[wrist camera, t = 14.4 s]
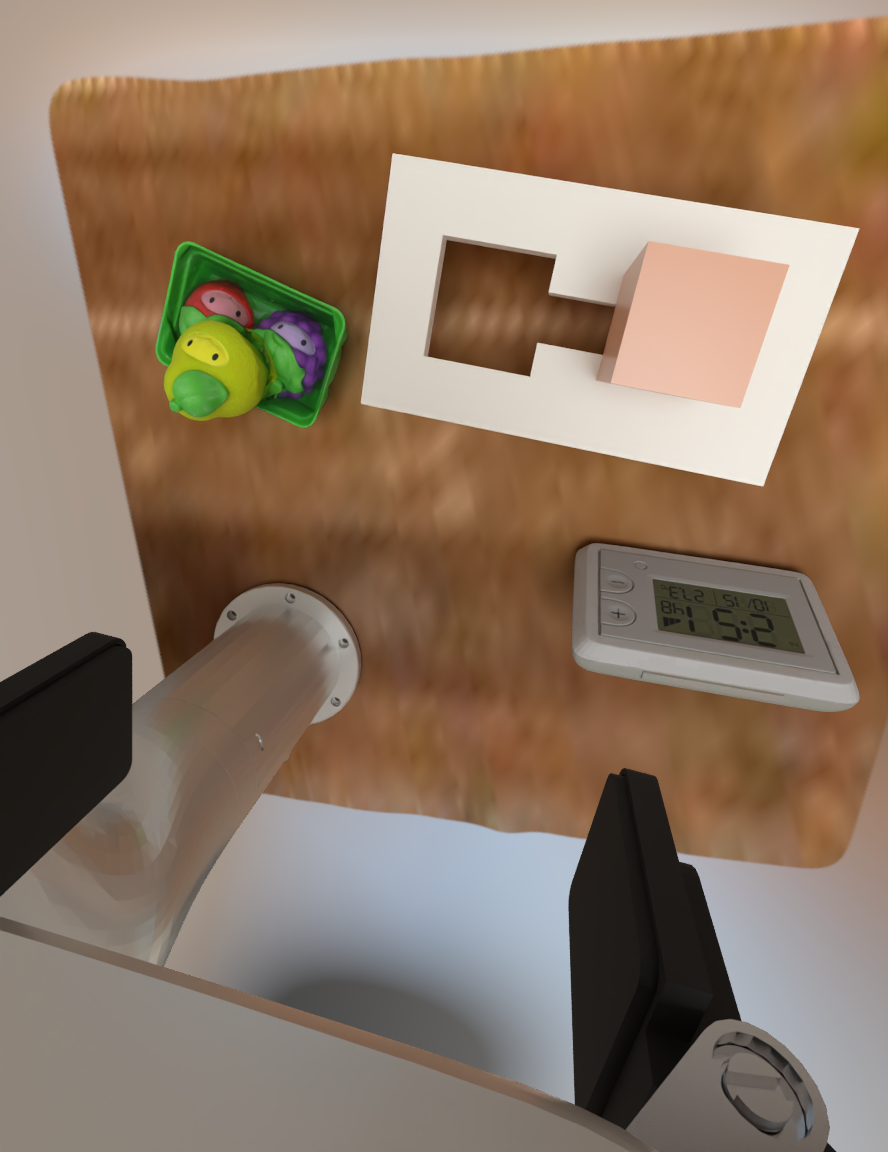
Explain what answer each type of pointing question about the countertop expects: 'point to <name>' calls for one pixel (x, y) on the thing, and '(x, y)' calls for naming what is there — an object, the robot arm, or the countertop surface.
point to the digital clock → (707, 627)
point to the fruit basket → (244, 342)
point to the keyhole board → (591, 274)
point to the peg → (691, 323)
